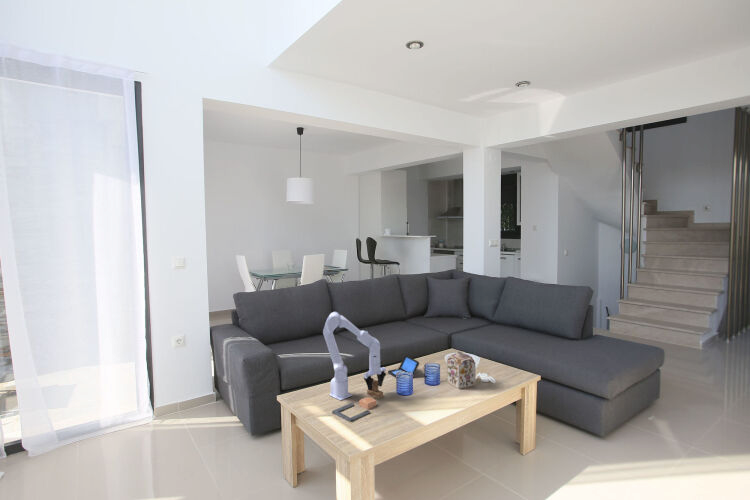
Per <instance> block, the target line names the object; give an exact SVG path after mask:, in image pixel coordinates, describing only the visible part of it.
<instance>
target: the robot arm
mask: <svg viewBox="0 0 750 500" xmlns="http://www.w3.org/2000/svg"><path fill="white" fill-rule="evenodd" d="M336 328H345V329H347V330H348V331H349V332H351V333H352V334H353V335H355V336H356V339H357V341H359V342H360V343H361V344H363V345H364V346H366V347H367V348H368V349H369V354H368V356H369V358H368V360H369V361H368V362H369V365H368V367H369V368H368V369H369V370H368V371H367V372H365V373H363V379H364V381H365V383H366V386H367V390H370V391H372V383H373V380H375V378H372V377H373V376H375V375H376V376H377V381H378V387H382V386H383V383H384V380H385V377H386V375H387V371H386V367H384V366H383V367H381V343H380V340H378V339H377V338H376V337H375V336H372V335H370V334H369V332H368V331H367V330H360V329H359V328H358V327H357V326H356V325H354V324H353V322H351V321H350V320H348V319H347V318H346V317H345V316H344V315H342V314H340V313H339V312H337V311H333V312H331V313H329V315H328V317H327V318H326V321H325V324H324V327H323V330H322V334H323V338H324V340H325V343H326V346H327V350H328V352H329V355H330V358H331V361H332V362H331V363H332V364H333V370H334V377H333V378H332V379H331V380H330V385H329V387H330V393H329V396H330V397H333V398H334V399H336V400H339V401H342V400H345V399H347V398H350V397H352V396H353V395H352V394H351V393H349V378H348V367H347V365H345V364H344V361H343V359H342V356H341V353H340V351H339V347H338V345H337V341H336V339H335V335H334V331H335V329H336Z"/></svg>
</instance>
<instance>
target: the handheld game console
mask: <svg viewBox="0 0 750 500" xmlns="http://www.w3.org/2000/svg"><path fill="white" fill-rule="evenodd" d="M419 365H420V362H419V361H418V360H416V359H415V358H413V357H411V356H408V355H407V354H406V355H404V356H403V358H402V360H401V362H400V365H399V366H398V367H397V368H394V369H390V370H387V373H388V374H389V375H391V376H392V377H394V378H395V379H397V378H396V373H397V372H399V371H405V372H412V373H413V375H414V376H415V374H416V372H417V369H418V368H419Z"/></svg>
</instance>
